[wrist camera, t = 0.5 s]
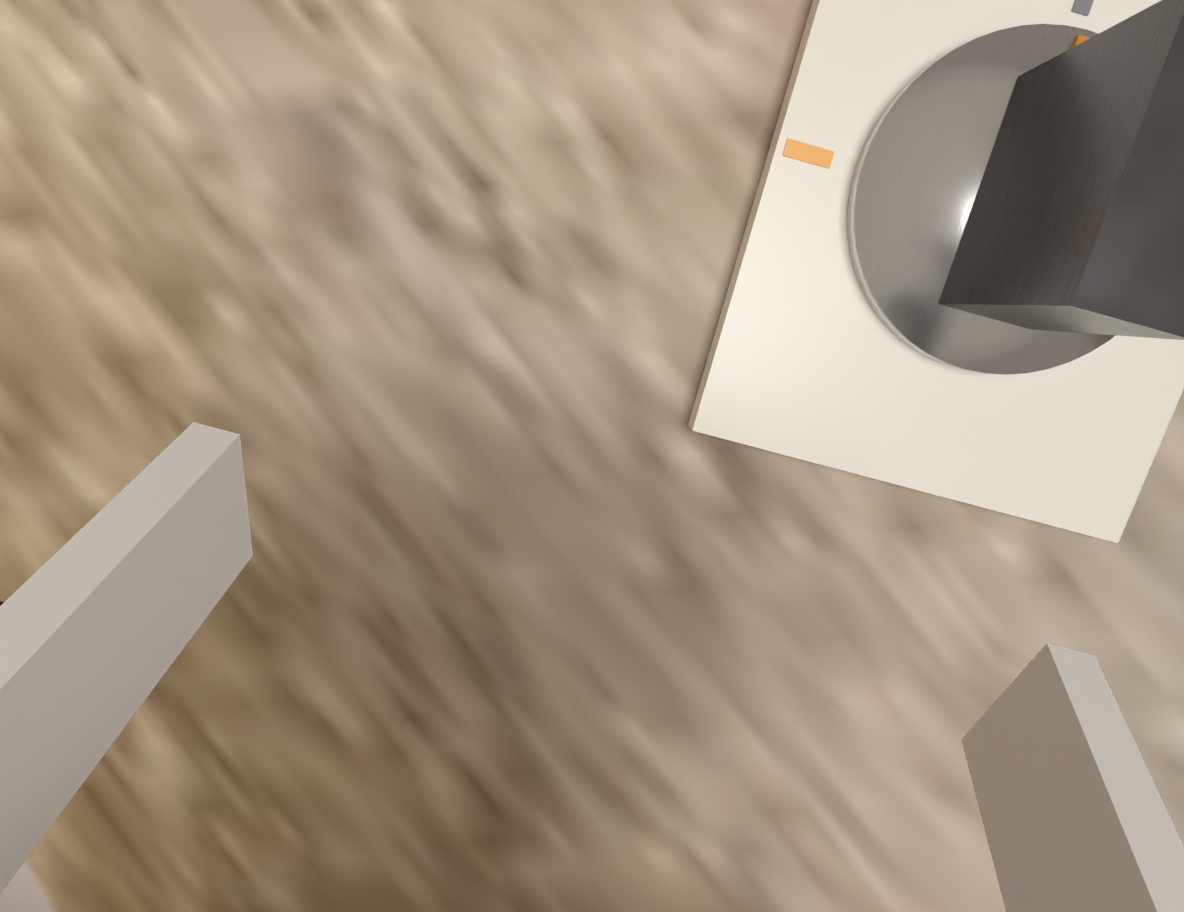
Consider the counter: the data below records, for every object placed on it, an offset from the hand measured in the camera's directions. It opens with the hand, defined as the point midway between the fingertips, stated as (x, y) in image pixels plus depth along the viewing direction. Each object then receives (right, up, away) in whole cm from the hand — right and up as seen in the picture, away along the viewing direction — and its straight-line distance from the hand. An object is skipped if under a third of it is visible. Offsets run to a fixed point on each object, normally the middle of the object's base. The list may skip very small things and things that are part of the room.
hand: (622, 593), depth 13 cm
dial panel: (+15, +12, +17) cm, 26 cm away
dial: (+15, +11, +16) cm, 25 cm away
